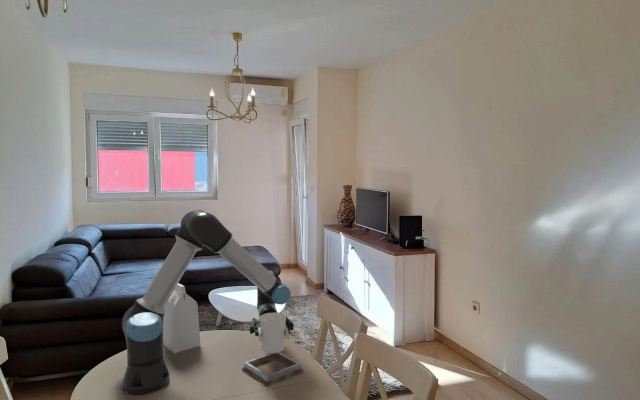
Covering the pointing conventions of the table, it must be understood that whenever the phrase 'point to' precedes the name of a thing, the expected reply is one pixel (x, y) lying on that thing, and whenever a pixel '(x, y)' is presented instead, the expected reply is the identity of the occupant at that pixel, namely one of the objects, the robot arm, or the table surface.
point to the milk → (181, 321)
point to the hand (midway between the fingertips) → (274, 336)
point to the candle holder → (272, 332)
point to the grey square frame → (294, 367)
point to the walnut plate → (272, 370)
